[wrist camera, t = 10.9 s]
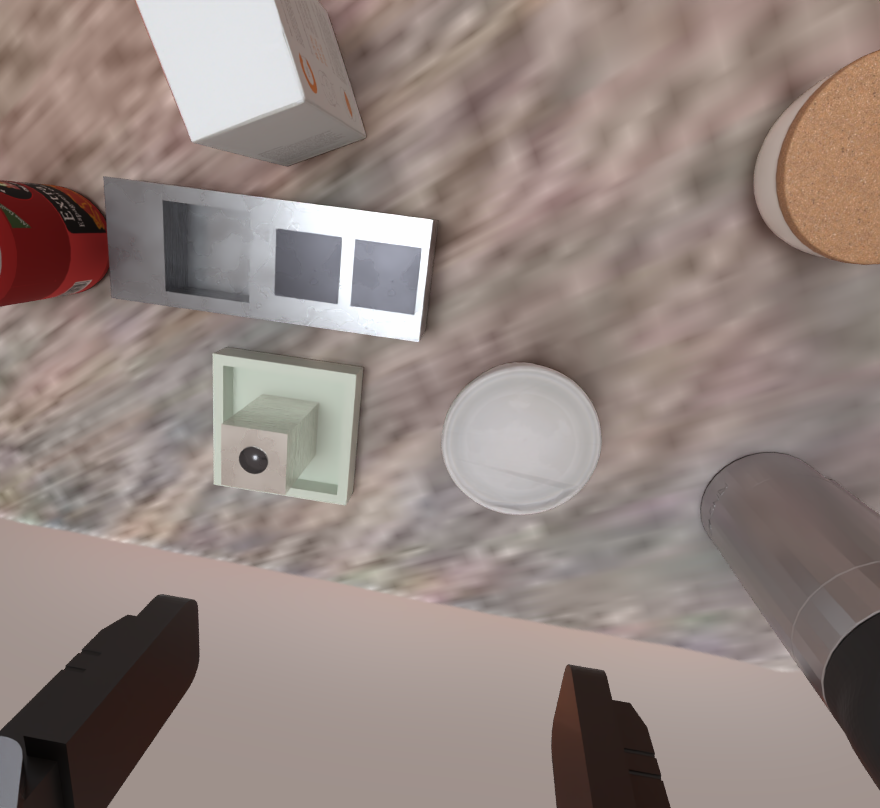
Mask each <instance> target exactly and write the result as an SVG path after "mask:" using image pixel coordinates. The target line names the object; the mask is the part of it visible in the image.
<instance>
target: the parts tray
mask: <svg viewBox="0 0 880 808" xmlns="http://www.w3.org/2000/svg"><path fill="white" fill-rule="evenodd" d="M362 378H363V367H359V366H353V365H346V364H339V363H332V362H325V361H318V360H312V359H305V358H298V357H291V356H284V355H277V354H271V353H264V352H257V351H250V350H243V349H236V348H230V347H226V348H224V349H222V350H219V351H217V352H215V353H213V448H214V485H220V486H225V485H221V424H222V423H223V422H225V421H226V420H227V419H229V418H230V417H231V416H233V415H234V414H235V413H237V412H238V411H240V410H241V409H242V408H244V407H245V406H246V405H248V404H249V403H251V402H252V401H253V400H255V399H256V398H257V397H259V396H260V395H261V394H267V395H274V396H280V397H287V398H294V399H300V400H307V401H314V402H319V410H318V427H317V444H316V456H315V457H314V458H313V460H312V461H311V462H310V463H309V465H308V466H307V467H306V469H305V470H304V471H303V473H302V474H301V475H300V476H299V478H298V479H297V480H296V482H295V483H294V484H293V486H292V487H291V488H290V489H289V491H288V492H287V493H286V495H283V496H290V497H296V498H302V499H308V500H315V501H321V502H327V503H334V504H340V505H347V503H348V501H349V499H350V497H351V495H352V493H353V487H354V475H355V463H356V451H357V439H358V427H359V415H360V403H361V391H362ZM227 487H231V486H227ZM233 488H238V487H233ZM239 489H244V488H239ZM246 490H250V489H246ZM252 491H256V490H252ZM258 492H263V491H258ZM264 493H269V492H264ZM271 494H275V493H271ZM277 495H281V494H277Z"/></svg>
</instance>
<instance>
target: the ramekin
mask: <svg viewBox="0 0 880 808" xmlns="http://www.w3.org/2000/svg"><path fill="white" fill-rule="evenodd" d="M601 443H602V437H601V427H600V422H599V419H598V415H597V412H596V410H595V408H594V406H593V404H592V402H591V400H590V399H589V397H588V396H587V395H586V393H585V392H584V391H583V390H582V388H581V387H580V386H579V385H578V384H576V383H575V382H574V381H573V380H572V379H570V378H569V377H567V376H565V375H564V374H562V373H560V372H558V371H556V370H553V369H551V368H548V367H544V366H541V365H536V364H533V363H526V362H521V363H518V362H513V363H506V364H503V365H498V366H496V367H494V368H491V369H489V370H488V371H486V372H483V373H482V374H481V375H480V376H478V377H477V378H476V379H474V380H473V381H472V382H470V383H469V384H468V385H467V386H466V387H465V388H464V389H463V390H462V391H461V392H460V393H459V394H458V395H457V397H456V398H455V400H454V401H453V403H452V404H451V406H450V408H449V410H448V412H447V415H446V418H445V421H444V425H443V430H442V440H441V449H442V455H443V459H444V463H445V466H446V468H447V471H448V473H449V475H450V477H451V478H452V480H453V481H454V483H455V484H456V485H457V487H458V488H459V489H460V490H461V491H462V492H463V493H464V494H465V495H466V496H468V497H469V498H470V499H471V500H473V501H474V502H476V503H477V504H479V505H481V506H483V507H485V508H488V509H490V510H493V511H496V512H500V513H504V514H513V515H530V514H536V513H540V512H544V511H548V510H551V509H553V508H556V507H558V506H560V505H562V504H564V503H565V502H567V501H568V500H570V499H571V498H572V497H574V496H575V495H576V494H577V493H578V492H579V491H580V490H581V489H582V488H583V487H584V486H585V484H586V483H587V482H588V480H589V479H590V477H591V476H592V474H593V472H594V470H595V468H596V466H597V463H598V460H599V457H600V452H601Z"/></svg>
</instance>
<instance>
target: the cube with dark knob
mask: <svg viewBox="0 0 880 808" xmlns="http://www.w3.org/2000/svg"><path fill="white" fill-rule="evenodd" d="M318 410H319V402H314V401H307V400H300V399H294V398H287V397H280V396H274V395H267V394H261V395H260V396H259V397H257V398H256V399H255V400H253V401H252V402H251V403H249V404H248V405H246V406H245V407H244V408H242V409H241V410H240V411H238V412H237V413H235V414H234V415H233V416H231V417H230V418H229V419H227V420H226V421H225V422H223V423H222V424H221V485H225V486H231V487H238V488H244V489H250V490H256V491H263V492H269V493H275V494H281V495H286V493H287V492H288V491H289V489H290V488H291V487H292V486H293V484H294V483H295V482H296V480H297V479H298V478H299V476H300V475H301V474H302V473H303V471H304V470H305V469H306V467H307V466H308V465H309V463H310V462H311V461H312V460H313V458H314V457H315V456H316V444H317V427H318Z"/></svg>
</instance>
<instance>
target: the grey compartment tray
mask: <svg viewBox="0 0 880 808" xmlns="http://www.w3.org/2000/svg"><path fill="white" fill-rule="evenodd" d="M103 178H104V193H105V208H106V223H107V237H108V252H109V267H110V282H111V297H112V298H116V299H123V300H130V301H137V302H144V303H151V304H158V305H165V306H172V307H179V308H186V309H193V310H200V311H207V312H214V313H221V314H228V315H235V316H242V317H249V318H256V319H263V320H270V321H277V322H284V323H291V324H298V325H305V326H312V327H319V328H325V329H332V330H339V331H346V332H353V333H360V334H367V335H374V336H381V337H388V338H395V339H402V340H409V341H416V342H419V341H420V339H421V337H422V336H423V334H424V333H425V331H426V323H427V314H428V306H429V297H430V289H431V281H432V272H433V264H434V255H435V247H436V238H437V230H438V221H439V220H432V219H424V218H417V217H409V216H401V215H394V214H386V213H379V212H371V211H364V210H356V209H349V208H341V207H333V206H326V205H318V204H311V203H303V202H296V201H288V200H281V199H273V198H265V197H258V196H250V195H243V194H235V193H228V192H220V191H213V190H205V189H197V188H190V187H182V186H175V185H167V184H160V183H152V182H145V181H137V180H129V179H121V178H112V177H104V176H103Z"/></svg>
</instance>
